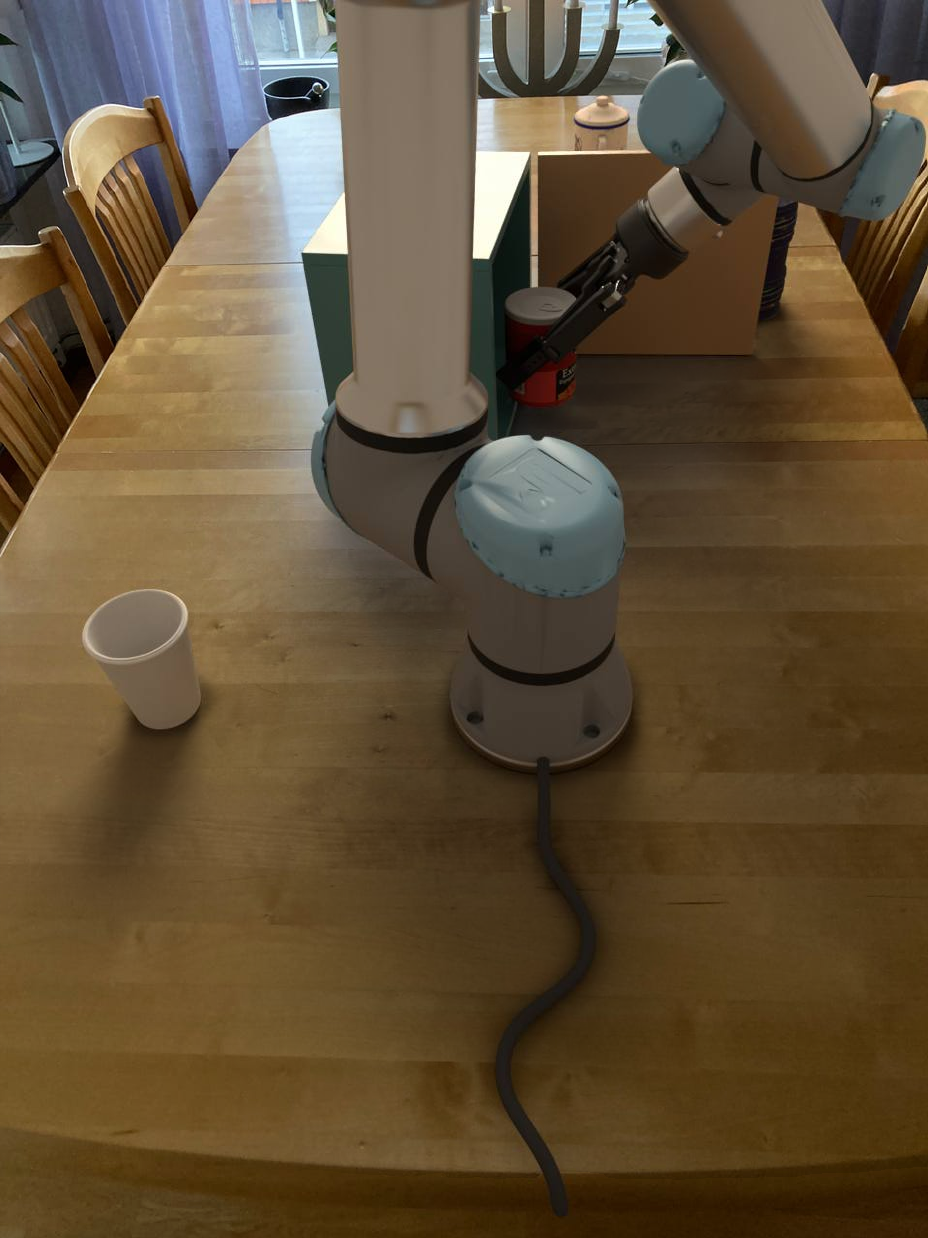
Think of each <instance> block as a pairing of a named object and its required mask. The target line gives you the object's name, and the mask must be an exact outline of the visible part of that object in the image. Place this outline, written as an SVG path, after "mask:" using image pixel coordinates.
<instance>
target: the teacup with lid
mask: <svg viewBox="0 0 928 1238" xmlns="http://www.w3.org/2000/svg"><path fill="white" fill-rule="evenodd" d="M630 120H631V116H630V112H629V111H628V110H627V109H626V108H624V107H622V106H618V105H616V104H615V103H613V102H610V99H609V97H608V96H607V95H599V96H597V97H596V100H595V102H593V103H591V104H590V105H588V106H585V107H583V108H581V109H578V111H576V113H575V114H574V117H573V123H574V150H573V151H616V150H627V147H628V133H629V131H628V130H629V123H630Z"/></svg>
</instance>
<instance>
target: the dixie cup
mask: <svg viewBox="0 0 928 1238" xmlns="http://www.w3.org/2000/svg"><path fill="white" fill-rule="evenodd" d="M188 621H189V612H188V608H187V606H186V604H185V603H184V602H183V600H182V599H181V598H179V597H178V596H177V595H175V594H173V593H172V592H170V591H166V590H162V589H154V588H144V589H143V588H142V589H136V590H131V591H128V592H124V593H121V594H118V595H117V596H115V597H112V598H111V599H109V600H107V601H106V602H104V603H103V604H101V605H100V606H99V607H98V608H97V609H95V611H93V612H92V614H91V615H90V616H89V617H88V619H87V620H86V622H85V623H84V627H83V629H82V635H81V641H82V646H83V648H84V649H85V651H86V653H87V654H88V655H89V656H90V657H91V658H93V659H94V660H95V661H96V662H97V664H98V665H99V667H100V668H101V669H102V670H103V672H104V674H105V675H106V676H107V678H108V679H109V681H110V682H111V683H112V685H113V686H114V688H115V689H116V690H117V692H118V693H119V696H121V697H122V699H123V700H124V702H125V703H126V705H127V706H128V708H129V709H130V710H131V712H132V713H133V715H134V716H135V717H136V719H137V720H138V721H139V723H140V724H142V725H143V726H145V727H146V728H149V729H152V730H167V729H173V728H175V727H178V726H180V725H182V724H184V723H186V722H187V721H189V720H190V719H191V718H192V717H193V716H194V715H195V714H196V712H197V711H198V710H199V707H200V705H201V702H202V701H201V700H202V695H201V694H202V693H201V689H200V683H199V677H198V674H197V667H196V661H195V657H194V650H193V646H192V641H191V635H190V629H189V625H188V623H189V622H188Z"/></svg>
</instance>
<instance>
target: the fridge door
mask: <svg viewBox="0 0 928 1238" xmlns="http://www.w3.org/2000/svg"><path fill="white" fill-rule="evenodd" d="M673 167H674V166H672V165H670V166H667V165H665V164H663V163H662V161H661V160H660V159H659V158H657V157H656V156H655V155H653V154H652V153H650V152H649V151H648V150H647V149H628V150H627V149H626V150H616V151H574V150H573V151H572V150H571V151H569V150H566V151H565V150H563V151H538V152H537V287H552V288H558V287H557V283H558V282H559V281H560V280H561V279H563V278H564V277H565V276H566V275H567V274H569V273H570V272H571V271H572V270H574V269H575V268H576V267H577V266H578V265H580V264H581V263H582V262H583V261H584V260H586V259H587V258H588V257H589V256H590V255H592V254H593V253H594V252H595V251H596V250H598V249H599V248H600V247H601V246H603V245H604V244H605V243H606V242H607V241H608V240H609V239H610V238H611V237H612V236H613V235H614V234H615V232H616V222H617V220H618V219H619V217H620V216H622V215H623V214H624V213H625V212H626V211H627V210H628V209H629V208H630V207H631V206H633V205H634V204H635V203H636V202H637V201H638V200H639V199H640V198H645V197H648V191H649V189H650V188H651V187H653V186H654V185H655V184H656V183H657V182H658V181H659V180H660V179H661V178H662V177H664V176H665V175H666V174H667V173H668V172H669V171H670V170H671V169H672V168H673ZM778 199H779V197H777V196H774V195H770V194H765V195H764V196H763V197H761V198H760V199H759V200H758V201H756V202H755V203H754V204H753V205H751V206H750V207H749V208H748V209H746V210H745V211H744V212H743V213H741V214H740V215H739V216H738V217H736V218H735V219H734V220H733V221H732V222H731V223H730V224H729V225H728V226H726V227H725V228H723V229H722V233H723V234H722V236H721V237H720V238H719V239H715V238H713V237H712V238H711V239H710V240H709V241H708V242H707V243H705V244H704V245H703V246H702V247H701V248H699V249H698V250H697V251H696V252H689V255H688V258H687V260H686V261H685V262H683V263H682V264H681V265H680V266H678V267H677V268H676V269H675V270H674V271H672V272H671V273H670V274H669V275H668V276H666V277H665V278H664V279H661V280H656V279H653V278H651V277H650V276H647V275H640V276H639V277H638V278H637V279H636V280H635V282H636V283H635V285H634V287H633V288H632V289H631V290H630V291H629V292H628V293H627V294H625V295H623V296H624V297H625V298H626V299H627V302H626V304H625V305H624V306H623V307H622V308H620V309H619V310H617V311H616V312H615V313H613V314H612V315H611V316H609V317H608V318H607V319H606V320H605V321H604V322H603V323H602V324H601V325H599V326H598V327H597V328H596V329H595V330H594V331H593V332H592V333H591V334H590V335H589V336H587V337H586V338H585V339H584V340H583V341H582V342H581V343H580V344H579V345H578V346H577V355H687V356H688V355H690V356H691V355H692V356H693V355H702V356H703V355H705V356H706V355H707V356H708V355H709V356H713V355H715V356H717V355H718V356H720V355H723V356H752V355H753V349H754V344H755V338H756V332H757V327H758V322H757V321H758V315H759V309H760V303H761V297H762V292H763V286H764V280H765V274H766V269H767V263H768V257H769V251H770V245H771V240H772V234H773V228H774V222H775V216H776V211H777V205H778Z"/></svg>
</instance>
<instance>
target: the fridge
mask: <svg viewBox="0 0 928 1238" xmlns="http://www.w3.org/2000/svg"><path fill="white" fill-rule="evenodd" d="M532 250H533V249H532V152H531V151H480V150H479V151H477V150H476V175H475V207H474V240H473V273H472V305H471V338H470V370H469V372H470V373H472V374H473V375H474V376H475V377H476V378H477V379H478V380H479V381H480V382H481V383H482V384H483V385H484V386H485V388H486V390H487V392H488V426H487V433H488V437H489V439H490V440H492V441H496V440H499V439H502V438H506V437H510V433H511V430H512V425H513V422H514V418H515V415H516V411H517V407H518V404H519V403H517V402H516V401H514V400H513V399H512V398H511V396H510V394H509V392H508V389H507V386H506V385H505V384H503V383H502V382H501V381H500V380H499V379H498V378H497V377H496V372H497V371H498V370H499V369H500V368H501V367H503V366H504V365H505V364H506V350H505V320H504V316H505V313H504V307H505V301H506V299H507V298H508V296H510V295H511V294H513V293H514V292H516V291H519V290H522V289H526V288H532V287H533V285H532V284H533V280H532V278H533V273H532V270H533V269H532V268H533V267H532V266H533V265H532V264H533V263H532V262H533V261H532V260H533V259H532V256H533V255H532V253H533V252H532ZM300 254H301V255H300V256H301V260H302V261H301V262H302V268H303V272H304V277H305V284H306V289H307V295H308V302H309V307H310V311H311V317H312V323H313V328H314V334H315V339H316V345H317V351H318V356H319V362H320V368H321V375H322V378H323V385H324V390H325V396H326V401H327V408H328V407H329V406H330V405H331V404H332V402H333V401H334V400H335V397H336V391H337V389H338V387H339V385H340V384H341V383H342V382H343V381H344V380H345V379H346V378H347V377H348V376H349V375H350V374H351V373H352V372H353V371H354V364H353V345H352V326H351V307H350V288H349V268H348V249H347V230H346V211H345V192H344V191H343V192H342V193H341V195H340V196H339V198H338V199H337V201H336V202H335V203H334V205H333V207H332V208H331V209H330V211H329V212H328V214H327V215H326V216H325V218H324V220H323V221H322V222H321V224H320V225H319V227H317V229H316V231H315V232H314V233H313V235H312V236H311V237H310V239H309V241H308V242H307V243H306V245H305V247H304V248H303V249H302V251H301V252H300Z"/></svg>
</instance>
